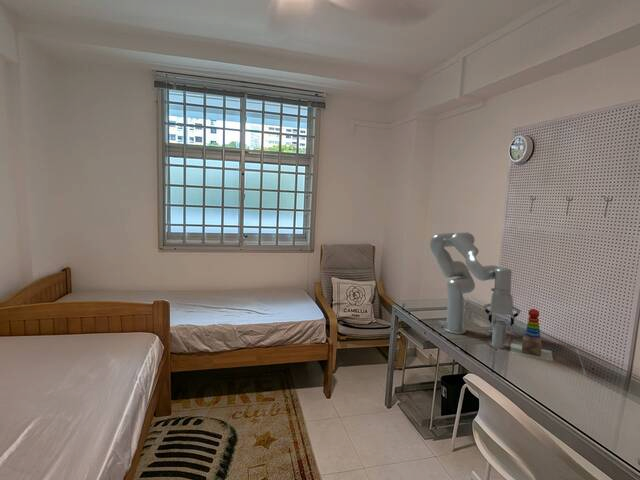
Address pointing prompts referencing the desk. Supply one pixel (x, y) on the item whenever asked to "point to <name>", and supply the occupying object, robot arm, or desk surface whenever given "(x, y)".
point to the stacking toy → (533, 325)
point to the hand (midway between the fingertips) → (500, 323)
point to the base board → (544, 355)
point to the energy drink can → (498, 333)
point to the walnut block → (531, 346)
